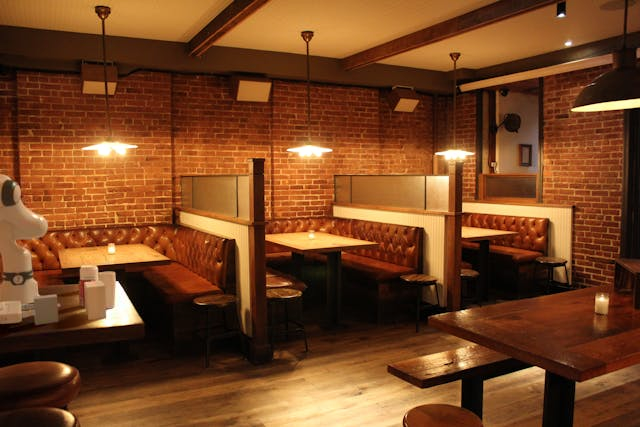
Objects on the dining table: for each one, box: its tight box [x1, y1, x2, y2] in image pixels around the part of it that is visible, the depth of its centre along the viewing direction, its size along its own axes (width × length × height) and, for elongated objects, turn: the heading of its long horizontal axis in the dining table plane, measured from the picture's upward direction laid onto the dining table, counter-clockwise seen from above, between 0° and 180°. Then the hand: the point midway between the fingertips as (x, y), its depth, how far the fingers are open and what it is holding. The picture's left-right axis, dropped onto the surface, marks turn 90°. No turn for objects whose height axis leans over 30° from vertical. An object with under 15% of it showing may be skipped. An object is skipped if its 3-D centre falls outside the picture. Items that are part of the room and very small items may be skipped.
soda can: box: [78, 277, 95, 308], centre depth 237 cm, size 7×7×12 cm
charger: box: [33, 293, 61, 326], centre depth 213 cm, size 4×9×10 cm, turn 119°
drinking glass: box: [98, 271, 117, 310], centre depth 233 cm, size 7×7×15 cm
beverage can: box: [79, 264, 99, 281], centre depth 266 cm, size 8×8×12 cm
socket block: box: [84, 280, 107, 321], centre depth 221 cm, size 11×6×13 cm, turn 29°
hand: (35, 309), depth 211 cm, fingers open, 8 cm apart
